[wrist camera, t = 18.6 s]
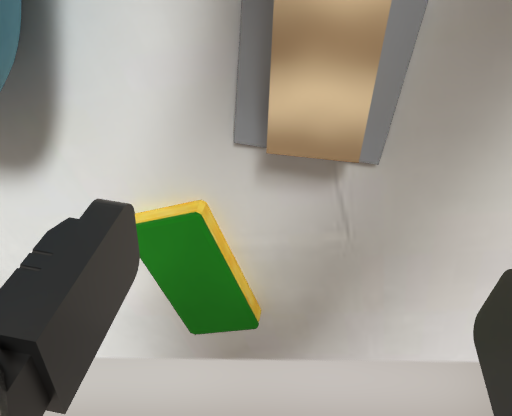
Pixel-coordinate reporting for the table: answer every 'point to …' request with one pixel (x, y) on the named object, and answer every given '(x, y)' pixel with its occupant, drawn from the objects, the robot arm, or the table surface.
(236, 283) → the dish sponge
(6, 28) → the casserole dish
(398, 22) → the slate mat
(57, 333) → the robot arm
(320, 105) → the oak block
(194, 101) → the table surface
